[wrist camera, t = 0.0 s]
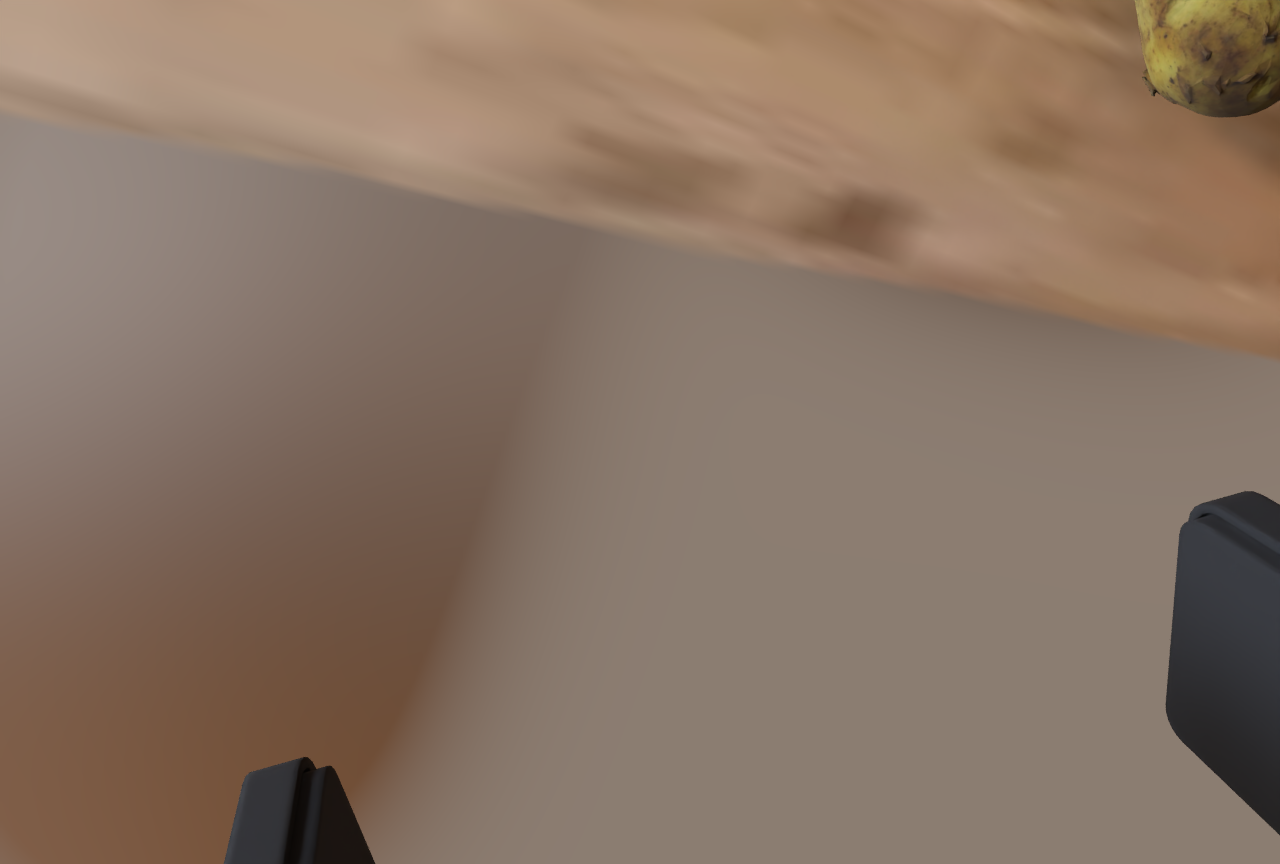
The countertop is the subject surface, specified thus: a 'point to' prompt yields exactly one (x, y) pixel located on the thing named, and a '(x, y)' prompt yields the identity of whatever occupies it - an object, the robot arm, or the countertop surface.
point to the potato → (1212, 53)
